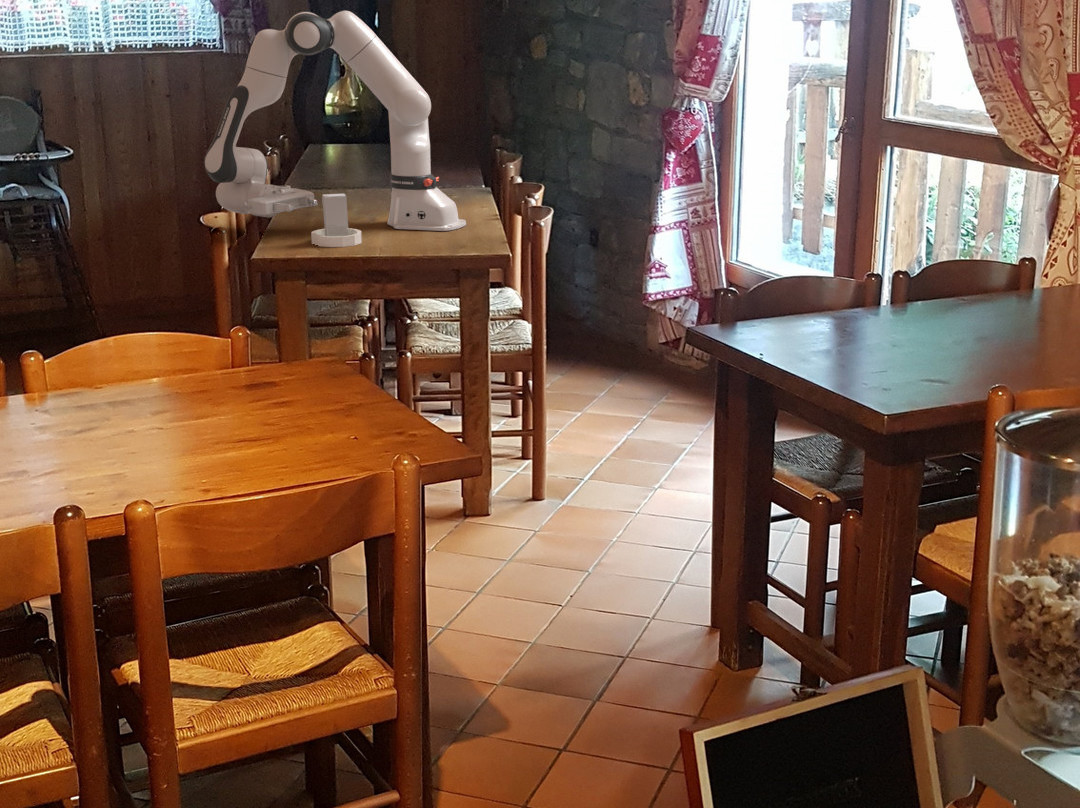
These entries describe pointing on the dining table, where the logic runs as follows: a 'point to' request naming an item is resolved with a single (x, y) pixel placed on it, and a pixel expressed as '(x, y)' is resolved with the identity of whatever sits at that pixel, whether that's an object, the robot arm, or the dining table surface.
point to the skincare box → (335, 214)
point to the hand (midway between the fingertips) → (303, 205)
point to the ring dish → (336, 238)
